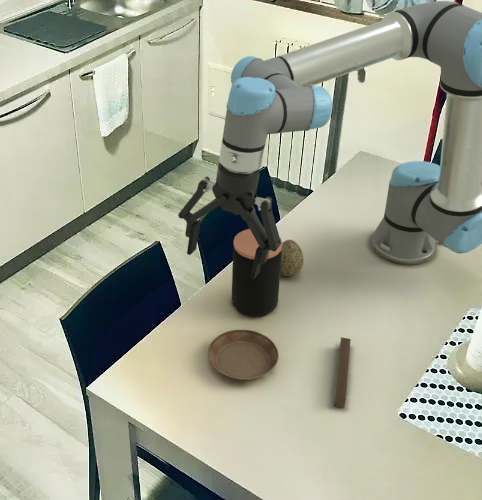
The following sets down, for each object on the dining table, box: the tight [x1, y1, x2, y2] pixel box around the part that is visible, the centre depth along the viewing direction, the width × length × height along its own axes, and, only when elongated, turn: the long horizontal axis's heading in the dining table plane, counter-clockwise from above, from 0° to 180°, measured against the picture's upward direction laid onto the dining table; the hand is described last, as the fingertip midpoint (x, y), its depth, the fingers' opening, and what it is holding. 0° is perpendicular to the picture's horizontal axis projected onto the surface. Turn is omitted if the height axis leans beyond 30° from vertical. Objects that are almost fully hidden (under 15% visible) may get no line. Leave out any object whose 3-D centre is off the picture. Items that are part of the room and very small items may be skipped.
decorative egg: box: [280, 239, 305, 277], centre depth 174 cm, size 7×7×10 cm
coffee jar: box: [231, 228, 283, 318], centre depth 163 cm, size 11×11×18 cm
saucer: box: [207, 329, 279, 381], centre depth 153 cm, size 15×15×3 cm
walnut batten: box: [333, 336, 352, 409], centre depth 148 cm, size 2×17×3 cm, turn 164°
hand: (222, 263), depth 140 cm, fingers open, 13 cm apart
